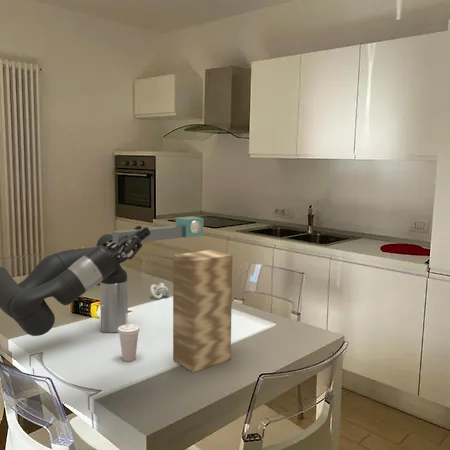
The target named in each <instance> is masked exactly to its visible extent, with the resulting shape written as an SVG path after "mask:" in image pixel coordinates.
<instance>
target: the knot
mask: <svg viewBox="0 0 450 450" xmlns="http://www.w3.org/2000/svg"><path fill="white" fill-rule="evenodd" d="M149 288H150V289H149V290H150V293H151V296H152V297H153V298H154V299H156V300H161V299H162V297H164V298H166V297H168V296H169V295H170V291H169V288H168V287H167V286H165V284H164V283H163V282H160V283H159V284H158V285H157V284H151V286H150V287H149Z"/></svg>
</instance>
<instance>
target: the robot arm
mask: <svg viewBox="0 0 450 450" xmlns="http://www.w3.org/2000/svg"><path fill="white" fill-rule="evenodd" d="M148 228H149V227H146V226H145V227H143V229H142V226H141V225H137V226H135V227H133V229H142V230H141V231H139V232H138V233H137V234H135V235H134V236H132V237H131V238H129V239H125V240H124V241H122V242H121V243H120V244H115V243H113V240H112V234H110V233H107V234H102V236H100V237H99V239H98V240H97V243H96V246H93V247H85V248H82V247H81V248H82V249H81V248H77V249H76V248H75V249H74V248H73V249H67V250H61V251H58V252H57V253H52V254H50V255H47V256H45V257H44V258H43V259H42V260H41V261H39V262H38V264H37V265H36V266H35V267H34V268H33V269H32V271H31V272H30V273H29V274H28V275H27V276H26V277H25V278H24V279H23V280H22V281H21V282H16V281H15V279H14V278H13V277H12V276H11V275H10V273H9V271H8V270H7V269H6V268H5V267H3V266H0V309H1V311H2V312H4V313H5V315H7V316H8V317H10V318H11V319H13V320H14V321H15V322H16V323H17V325H18V326H20V327H21V329H22V330H23V332H25V334H27V335H29V336H31V337H39V336H43V335H45V334H47V333H48V332H50V331H51V330H52V328H53V327H54V325H55V319H56V317H55V314H54V312H53V311H52V309H51V308H50V307H49V305H48V303H47V302H46V301H45V300H46V299H47V298H52V297H53V298H54V299H55V300H56V301H57V302H58V303H59V304H61V305H62V306H68V305H70V304H72V303H73V302H75V301H76V300H77V299H78V298H80V297H81V296H82V295H84V294H85V293H86V292H88V291H90V290H91V289H93V288H94V287H96V286H98V285H99V286H100V287H99V290H100V294H99V295H100V296H99V298H100V300H99V308H100V309H99V310H100V332H101V333H112V334H113V333H114V334H115V333H118V328H119V327H120V326H122V325H126V313H127V314H129V313H128V311H129V310H128V308H129V307H128V303H129V302H128V272H127V271H125V269H124V268H123V267H122V265H121V264H122V263H125V261H127V260H132V259H133V258H134V257H135V256H136V254H137V253H138V252H139V251H140V249H141V248H142V247H143V243H142V242H141V241H142V240H143V239H145V238H146V237H147V236H149V235H150V231H149V229H148ZM131 241H132V242H131ZM130 242H131V243H130ZM125 243H127V244H125ZM98 283H100V284H98ZM97 284H98V285H97Z"/></svg>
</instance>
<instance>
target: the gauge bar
mask: <svg viewBox="0 0 450 450" xmlns="http://www.w3.org/2000/svg"><path fill="white" fill-rule="evenodd" d="M204 220H205V218H203V217H198V216H182V217H181V216H179V217H175V225H166V226H155V227H147V228H148V229H149V231H150V235H149V236H147V237H146V238H145V239H143V240H142V241H141V243H145V242H155V241H162V240H172V239H181V238H182V239H183V238H185V239H188V238H196V237H197V238H198V237H203V236H204V226H205V225H204V223H205V222H204ZM141 228H142V227H141ZM143 228H144V227H143ZM143 228H142V229H143ZM142 229H134V228H132V229H121V230H120V229H119V230H112V240H113V243H115V244H120V243H121V242H122V241H124V240H125V239H129V238H131V237H132V236H134V235H135V234H137V233H138V232H139V231H141V230H142ZM131 242H132V241H131ZM131 242H130V243H131ZM125 244H127V243H125Z"/></svg>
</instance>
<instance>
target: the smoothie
mask: <svg viewBox="0 0 450 450" xmlns="http://www.w3.org/2000/svg"><path fill="white" fill-rule="evenodd" d="M128 314H129V313H128ZM128 314H127V313H126V325H122V326H120V327H119V328H118V332H117V333H118V334H119V335H118V336H119V341H120V348H121V356H122V357H121V358H122V360H123V361H124V362H132V361H135V360H136V357H137V356H136V355H137V348H138V340H139V332H140V331H141V330H140V326H139V325H137V324H132V323H131V324H130V323H129V320H128V317H129V316H128Z"/></svg>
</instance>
